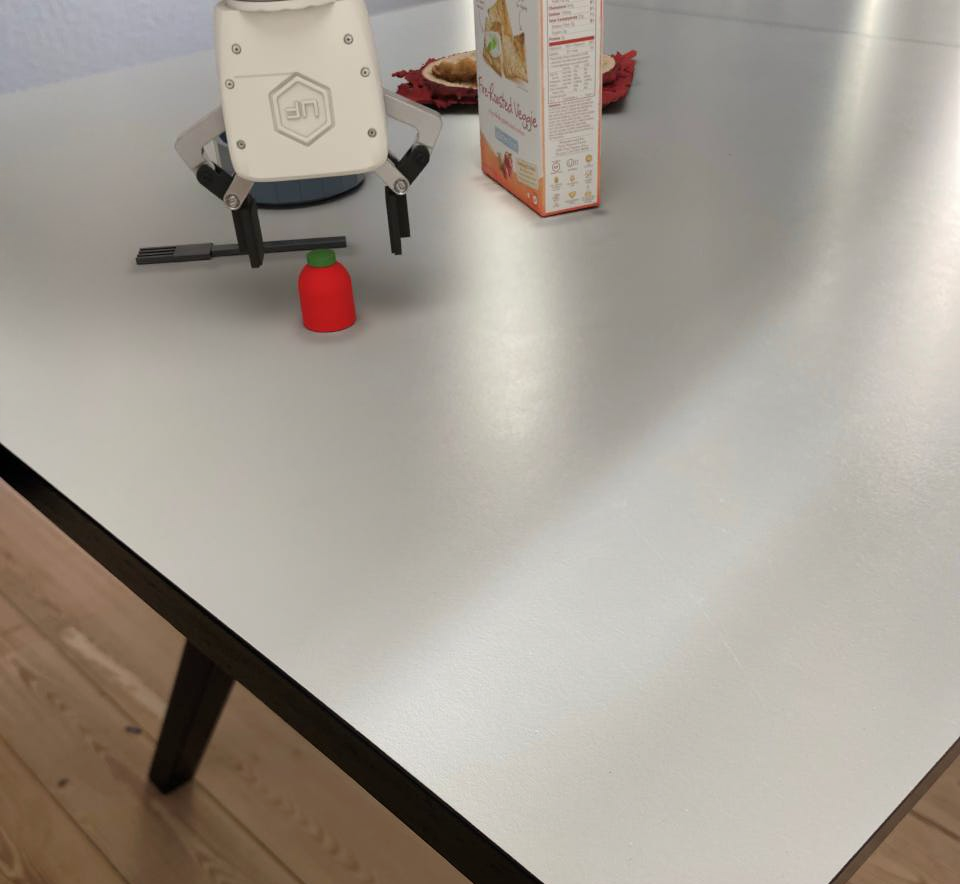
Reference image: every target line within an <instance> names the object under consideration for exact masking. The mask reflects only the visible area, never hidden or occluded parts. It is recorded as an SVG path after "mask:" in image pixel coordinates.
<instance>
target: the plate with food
mask: <svg viewBox="0 0 960 884" xmlns="http://www.w3.org/2000/svg"><path fill="white" fill-rule="evenodd" d="M637 54H638V51H637V50H635V49H631V50H629V51H628V52H626V53H624V54H621V52H620V51H618V50H617V51H616V54H614V53H613V54H611V55H610V54H606V53H605V52H603V64H602V109H603V108H606V106H608V105H609V104H610V103H611V102H613V103H614V102H615V103H616V102H617V101H618V100H620V99H622V100H626V97H627V93H628V89H629V87H630V86H631V84H632V82H633V77H634V71H635V70H634V69H635V66H636V60H635V59H634V58H635V57H637V56H638V55H637ZM424 64H425V65H424ZM422 65H424V66H422ZM390 76H391V77H392V78H394V77H396V78H398V79H404V80H406V82H402V83H400V84H398V85H397V89H396V91H395V92H394V93H397V94H399V95H401V96H403V97H405V98H408V99H410V100H412V101H414V102H417V103H419V104H422V105H436V107H438V109H441V108H444V109H446V110H447V109H448V107H451V106H452V104H454V105H455V104H460V105H466V104H467V105H475V104H478V97H476V96H478V86H477V67H476V49H474V50H469V51H464V52H458V53H453V54H452V55H451V54H450V55H448V57H446V56H442V57H439V58H437V59H435V58H434V57H432V58H431V57H428V59H427V60H426V61H425V62H424V63H422V64H421V66H420V68H419V69H411V68H410V69H409V70H408V71H407V70H405V69H402V70H399V71H396V72H393V73H392V74H391V75H390Z"/></svg>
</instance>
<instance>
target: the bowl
mask: <svg viewBox="0 0 960 884" xmlns="http://www.w3.org/2000/svg"><path fill="white" fill-rule="evenodd" d="M212 142H213V147H214V153H215V158H216V162H217V163H216V164H217V165H218V166H219V167H220V168H222V169H223V170H224V171H226V172H227V173H228V174H229V175H231V176H232V175H233V173H234V171H235V170H234V168H233V165H232V161H231V158H230V153H229V148H228V142H227V136H226V131H224V132H223V133H222V134H220V135H219V136H217V137H216V138H215V139H213V140H212ZM365 177H366V173H360V174H352V175H342V176H332V177H321V178H310V179H298V180H287V181H274V182H255V183H254V185H253V186H252V188H251V190H250V191H249V192H250V194H252V198H255V201H256V204H259V205H266V206H293V205H295V206H296V205H304V204H305V205H306V204H310V203H317V202H321V201H324V200H327V199H330V198H334V197H337V196H338V195H340V194H342V193H345V192H346V191H349V190H350V189H352V188H355V187H356V186H359V184H361V182H362V181H363V180H364V179H365Z"/></svg>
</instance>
